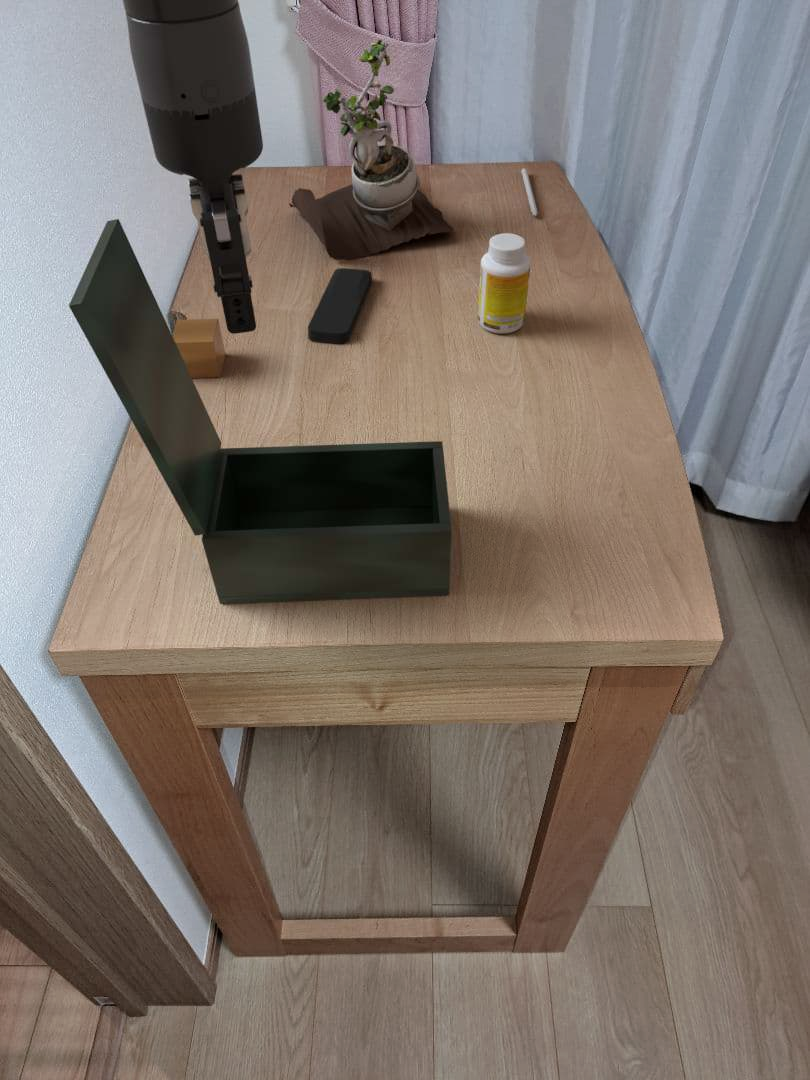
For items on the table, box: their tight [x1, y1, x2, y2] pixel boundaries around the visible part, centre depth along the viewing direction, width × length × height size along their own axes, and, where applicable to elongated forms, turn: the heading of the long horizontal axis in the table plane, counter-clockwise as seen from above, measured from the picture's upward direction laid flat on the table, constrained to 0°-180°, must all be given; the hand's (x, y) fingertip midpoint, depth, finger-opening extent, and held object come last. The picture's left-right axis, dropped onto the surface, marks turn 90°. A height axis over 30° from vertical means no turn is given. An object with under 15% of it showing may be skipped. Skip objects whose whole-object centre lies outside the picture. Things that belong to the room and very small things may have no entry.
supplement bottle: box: [477, 232, 531, 335], centre depth 94 cm, size 6×6×10 cm
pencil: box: [520, 167, 539, 217], centre depth 121 cm, size 1×1×15 cm
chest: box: [201, 440, 453, 605], centre depth 70 cm, size 19×11×8 cm, turn 92°
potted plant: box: [288, 38, 457, 261], centre depth 108 cm, size 20×19×25 cm
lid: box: [68, 218, 222, 537], centre depth 59 cm, size 20×11×1 cm
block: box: [172, 318, 226, 379], centre depth 91 cm, size 5×5×5 cm
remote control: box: [307, 267, 374, 345], centre depth 100 cm, size 5×2×15 cm
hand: (238, 301), depth 67 cm, fingers open, 8 cm apart
